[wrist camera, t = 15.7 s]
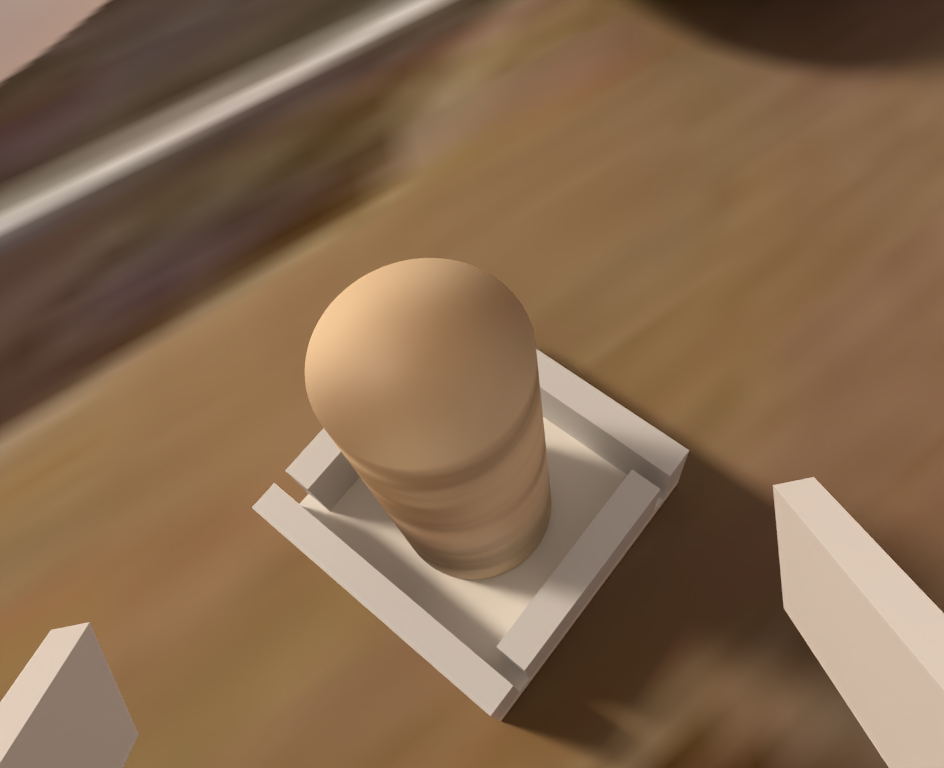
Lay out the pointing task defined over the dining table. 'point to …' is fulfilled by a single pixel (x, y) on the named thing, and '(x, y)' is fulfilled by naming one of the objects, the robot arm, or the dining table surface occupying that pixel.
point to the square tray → (515, 592)
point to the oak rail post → (438, 410)
